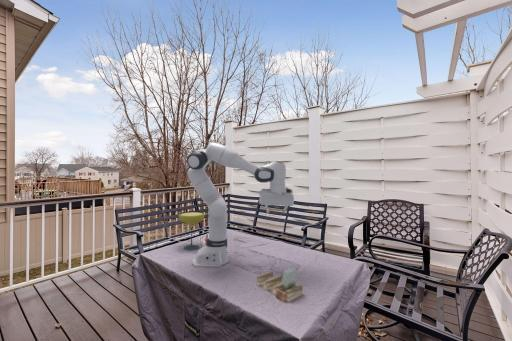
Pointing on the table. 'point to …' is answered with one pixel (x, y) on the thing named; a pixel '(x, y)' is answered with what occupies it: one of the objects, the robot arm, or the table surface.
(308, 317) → the table surface
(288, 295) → the rack
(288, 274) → the block
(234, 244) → the table surface
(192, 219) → the cocktail glass
